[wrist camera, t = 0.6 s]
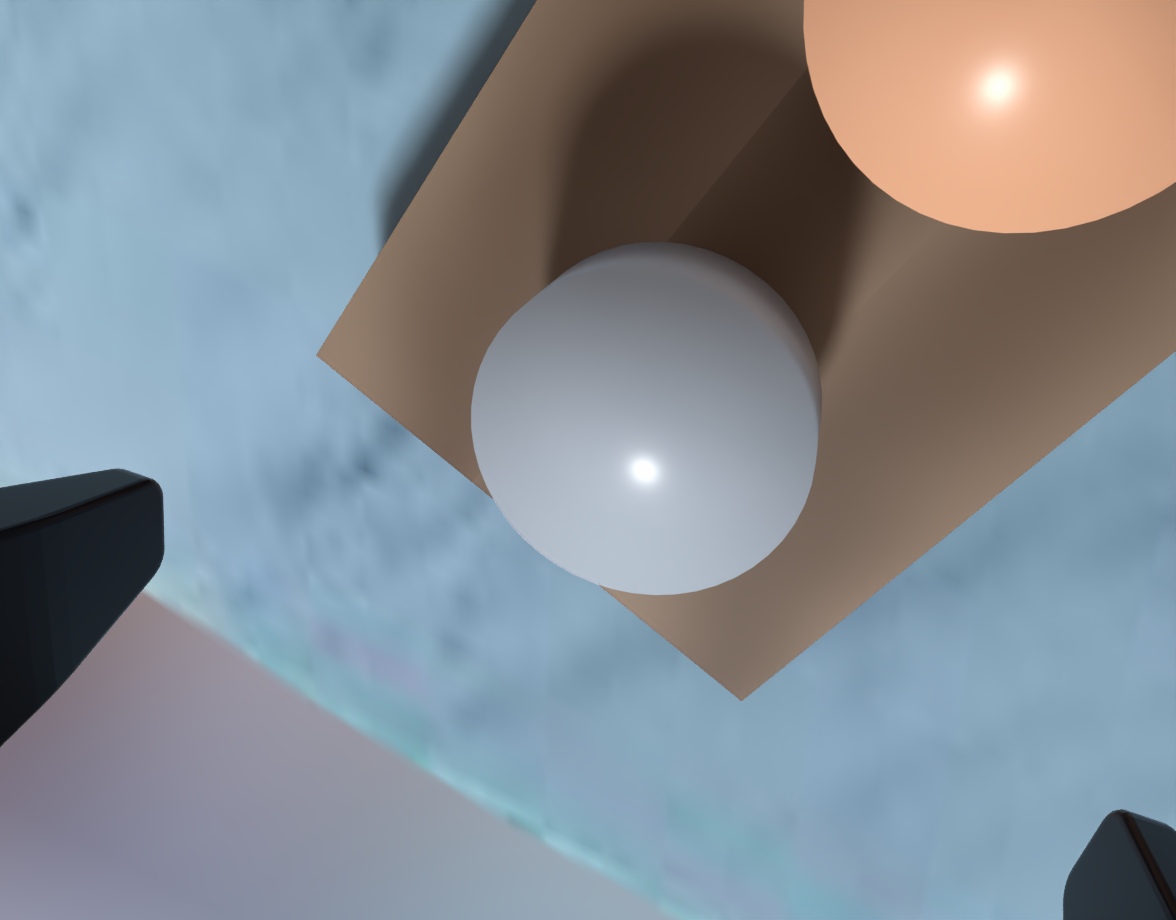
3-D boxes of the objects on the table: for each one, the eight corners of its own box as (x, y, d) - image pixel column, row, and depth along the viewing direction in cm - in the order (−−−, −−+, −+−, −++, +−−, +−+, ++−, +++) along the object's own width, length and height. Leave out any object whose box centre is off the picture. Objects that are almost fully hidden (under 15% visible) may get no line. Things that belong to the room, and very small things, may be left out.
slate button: (890, 337, 18) (897, 438, 14) (705, 519, 21) (661, 651, 16) (669, 148, 18) (604, 189, 13) (509, 357, 20) (411, 448, 16)
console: (2238, -645, 11) (2669, -855, 8) (755, 625, 23) (741, 701, 21) (1514, -1431, 10) (1739, -1934, 8) (380, 316, 23) (316, 355, 20)
